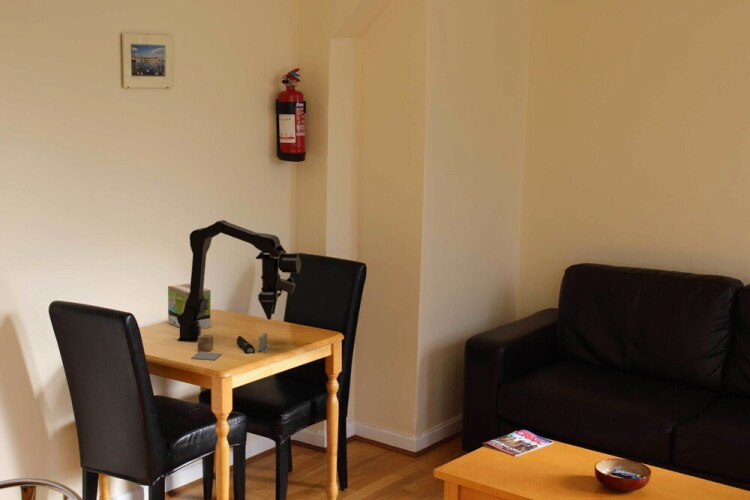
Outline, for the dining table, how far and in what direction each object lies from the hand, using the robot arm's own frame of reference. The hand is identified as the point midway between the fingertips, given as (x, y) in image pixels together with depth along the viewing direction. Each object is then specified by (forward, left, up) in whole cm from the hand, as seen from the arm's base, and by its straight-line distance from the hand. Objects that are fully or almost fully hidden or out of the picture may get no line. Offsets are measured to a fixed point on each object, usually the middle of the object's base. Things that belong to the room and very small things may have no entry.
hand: (271, 316), depth 322 cm
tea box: (-37, +23, -11) cm, 45 cm away
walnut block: (-20, -10, -11) cm, 25 cm away
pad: (-17, -18, -11) cm, 27 cm away
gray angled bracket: (-2, -4, -11) cm, 12 cm away
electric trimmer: (-8, -4, -11) cm, 15 cm away
